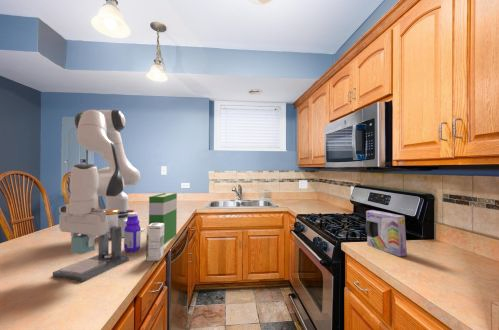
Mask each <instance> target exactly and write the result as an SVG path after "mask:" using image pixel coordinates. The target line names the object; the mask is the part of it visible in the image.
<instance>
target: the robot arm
mask: <svg viewBox="0 0 499 330" xmlns="http://www.w3.org/2000/svg"><path fill="white" fill-rule="evenodd" d="M124 115H125V114H124V113H123V112H122V111H120V110H117V109H111V110H110V109H98V110H96V109H88V110H84V111H83V112H79V113H77V114H76V115H75V116H74V125H75V127H76V129H77V131H76V139H77V143H78V145H80V147H82V148H83V149H85V150H87V151H89V152H92V153H94V154H95V153H96V154H98V155H101V158H102V159H103V160H104V161H105V162H106V163H108V166H107V167H102V168H100V169H98V167H97V165H95V164H91V163H78V164H74V165H73V166H72V167H71V170H70V172H71V173H70V176H69V179H68V180H67V182H68V184H67V185H68V186H67V191H68V192H69V193H70V197H69V200H68V203H66V204H63V205H61V206H59V207H58V211H59V213H60V214H59V218H58V222H59V224H58V225H59V230H60V232H61V233H62V232H63V233H70V237H71V238H72V237H75V236H79V235H81V234H87V235H88V238H89V240H88V242H86V246H87V247H91V246H93V245H94V240H96V238H97V237H99V236H101V235H104V234H106V233H107V232H108V220H107V216H106V212H105V211H103V210H104V209H103V208H99V197H105V199H106V210H110V209H118V210H119V213H118V227H122V230H121V239H122V238H124V229H125V227H126V221H127V219H128V213H131V212H135V209H129V208H130V204H129V203H130V201H129V200H130V197H129V195H128V194H127V193H126V192H124V189H125V187H131V186H135V185H137V184H138V183H139V182H140V180H141V172H140V170H139V169H137V168H136V167H134V166H133V165H132V163H131V162H130V161H129V159H128V157H127V155H126V152H125V148H124V144H123V140H122V136H121V131H122V130H124V128H125V127H126V117H125V116H124ZM139 226H140V228H141V232H143V231H145V228H144V227H141V222H140V221H139Z"/></svg>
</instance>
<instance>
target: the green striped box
mask: <svg viewBox="0 0 499 330" xmlns="http://www.w3.org/2000/svg"><path fill="white" fill-rule="evenodd" d="M177 197H178V194H177V193H176V192H175V193H172V194H169V193H165V192H164V193H160V194H156V195H150V196H148V226H149V225H150V224H151V223H164V245H165V244H167V243H168V242H169V241H171V240H172V239H173V238H174V237H176V236H177V223H178V222H177V221H178V220H177V215H178V214H177V212H178V211H177V206H178V205H177V203H178V199H177Z"/></svg>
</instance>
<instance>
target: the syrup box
mask: <svg viewBox="0 0 499 330" xmlns="http://www.w3.org/2000/svg"><path fill="white" fill-rule="evenodd" d="M145 242H146V243H145V246H146V247H145V261H146V262H150V261H151V262H156V261H158V262H159V261H160V260H162V258H163V257H164V251H165V250H164V249H165V244H164V223H151V224H150V225H149V224H148V225H147V226H146V240H145Z"/></svg>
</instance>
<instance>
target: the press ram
mask: <svg viewBox="0 0 499 330" xmlns="http://www.w3.org/2000/svg"><path fill="white" fill-rule="evenodd" d="M103 211H105V212H106V216H107V220H108V232H107V241H109V242H111V233H112V228H114V227H118V213H119V210H118V209H110V210H107V209H103Z"/></svg>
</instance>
